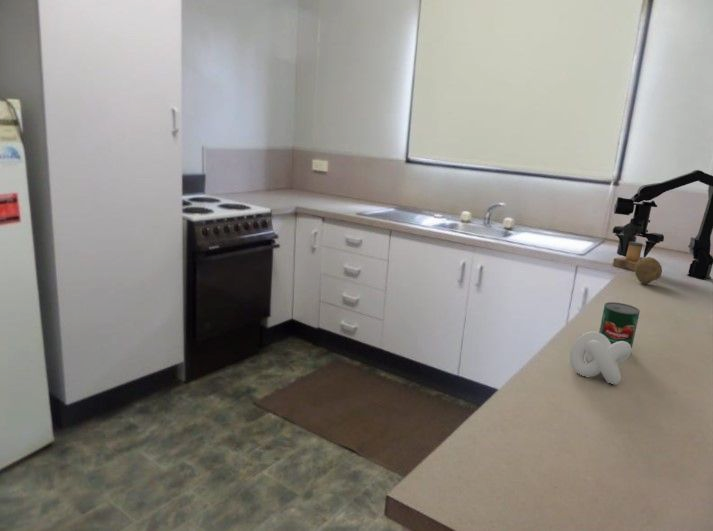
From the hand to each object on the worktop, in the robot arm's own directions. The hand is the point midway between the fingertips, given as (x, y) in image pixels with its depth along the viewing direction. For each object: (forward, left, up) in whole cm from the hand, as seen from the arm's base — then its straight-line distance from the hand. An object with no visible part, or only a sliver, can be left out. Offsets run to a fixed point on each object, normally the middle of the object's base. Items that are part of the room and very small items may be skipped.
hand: (633, 254), depth 226 cm
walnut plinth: (0, 0, -6) cm, 6 cm away
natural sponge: (-17, +20, -6) cm, 27 cm away
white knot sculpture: (-57, +113, -6) cm, 127 cm away
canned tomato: (-49, +94, -6) cm, 106 cm away
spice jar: (0, 0, -2) cm, 2 cm away
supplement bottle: (+16, -23, -6) cm, 29 cm away
